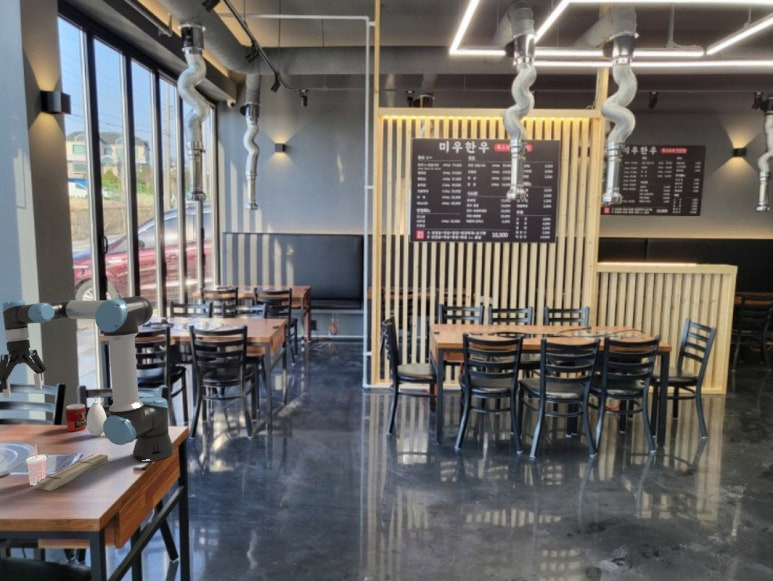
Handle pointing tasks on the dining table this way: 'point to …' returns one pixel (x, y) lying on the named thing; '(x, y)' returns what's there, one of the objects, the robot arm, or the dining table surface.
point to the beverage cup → (36, 467)
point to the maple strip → (71, 472)
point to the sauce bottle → (96, 419)
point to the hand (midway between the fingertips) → (23, 393)
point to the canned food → (75, 417)
